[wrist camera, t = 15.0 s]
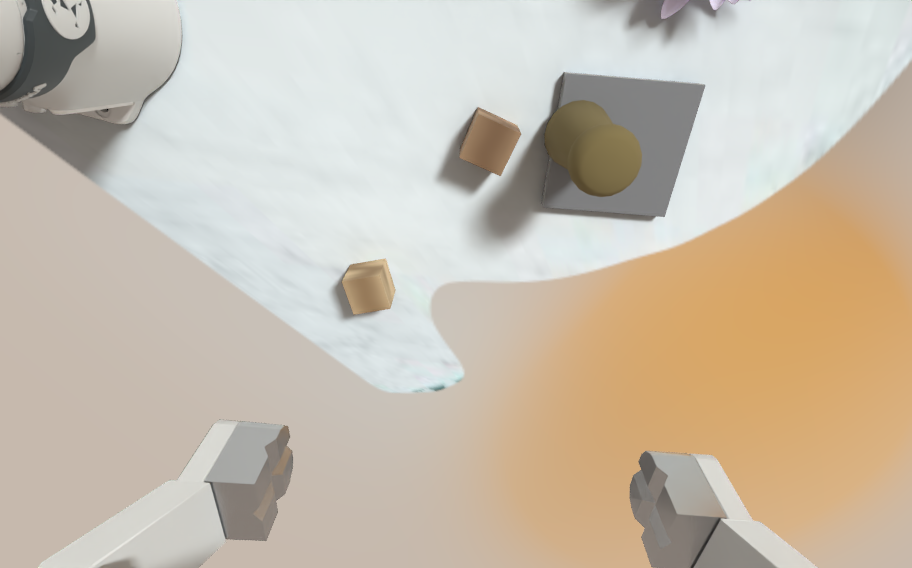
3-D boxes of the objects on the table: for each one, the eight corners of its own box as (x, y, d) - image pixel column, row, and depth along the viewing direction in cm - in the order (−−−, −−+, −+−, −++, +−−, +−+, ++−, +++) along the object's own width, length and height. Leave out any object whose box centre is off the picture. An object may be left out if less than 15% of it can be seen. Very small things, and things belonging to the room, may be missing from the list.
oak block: (361, 295, 52) (353, 314, 49) (350, 264, 50) (341, 281, 47) (395, 289, 52) (390, 308, 48) (385, 258, 50) (379, 275, 46)
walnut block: (460, 147, 44) (459, 157, 40) (477, 106, 42) (478, 113, 39) (498, 164, 45) (500, 176, 41) (517, 125, 43) (521, 133, 39)
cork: (549, 98, 40) (574, 119, 31) (618, 101, 40) (665, 124, 31) (540, 167, 43) (560, 206, 34) (604, 170, 43) (643, 210, 34)
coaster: (541, 203, 46) (543, 207, 45) (563, 72, 40) (566, 73, 39) (660, 212, 46) (664, 216, 45) (699, 83, 41) (705, 84, 40)
